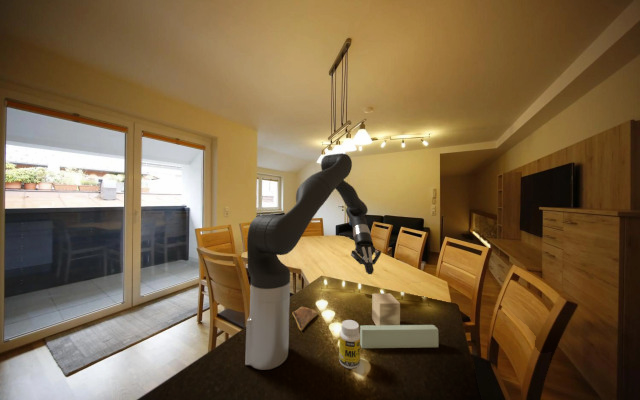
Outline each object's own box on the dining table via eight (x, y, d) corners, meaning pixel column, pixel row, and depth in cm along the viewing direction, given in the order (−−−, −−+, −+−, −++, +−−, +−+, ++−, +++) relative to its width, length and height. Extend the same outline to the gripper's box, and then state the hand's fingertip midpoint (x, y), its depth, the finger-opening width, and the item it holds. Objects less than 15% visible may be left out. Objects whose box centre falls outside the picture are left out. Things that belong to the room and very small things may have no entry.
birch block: (379, 331, 59) (379, 303, 59) (372, 318, 66) (372, 293, 66) (399, 331, 59) (399, 303, 60) (390, 318, 66) (390, 293, 67)
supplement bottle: (343, 371, 44) (344, 331, 44) (336, 356, 49) (336, 320, 49) (363, 367, 45) (364, 328, 46) (354, 352, 50) (354, 317, 50)
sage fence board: (361, 348, 52) (362, 330, 52) (359, 343, 54) (360, 325, 54) (438, 347, 53) (438, 329, 53) (433, 342, 55) (433, 324, 55)
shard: (300, 333, 58) (300, 327, 58) (279, 326, 61) (279, 319, 61) (318, 316, 67) (318, 310, 68) (299, 310, 71) (299, 305, 71)
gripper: (348, 231, 88) (354, 268, 75) (379, 231, 89) (390, 268, 76) (346, 241, 93) (351, 278, 80) (374, 242, 94) (384, 278, 81)
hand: (370, 273), depth 78 cm, fingers closed
